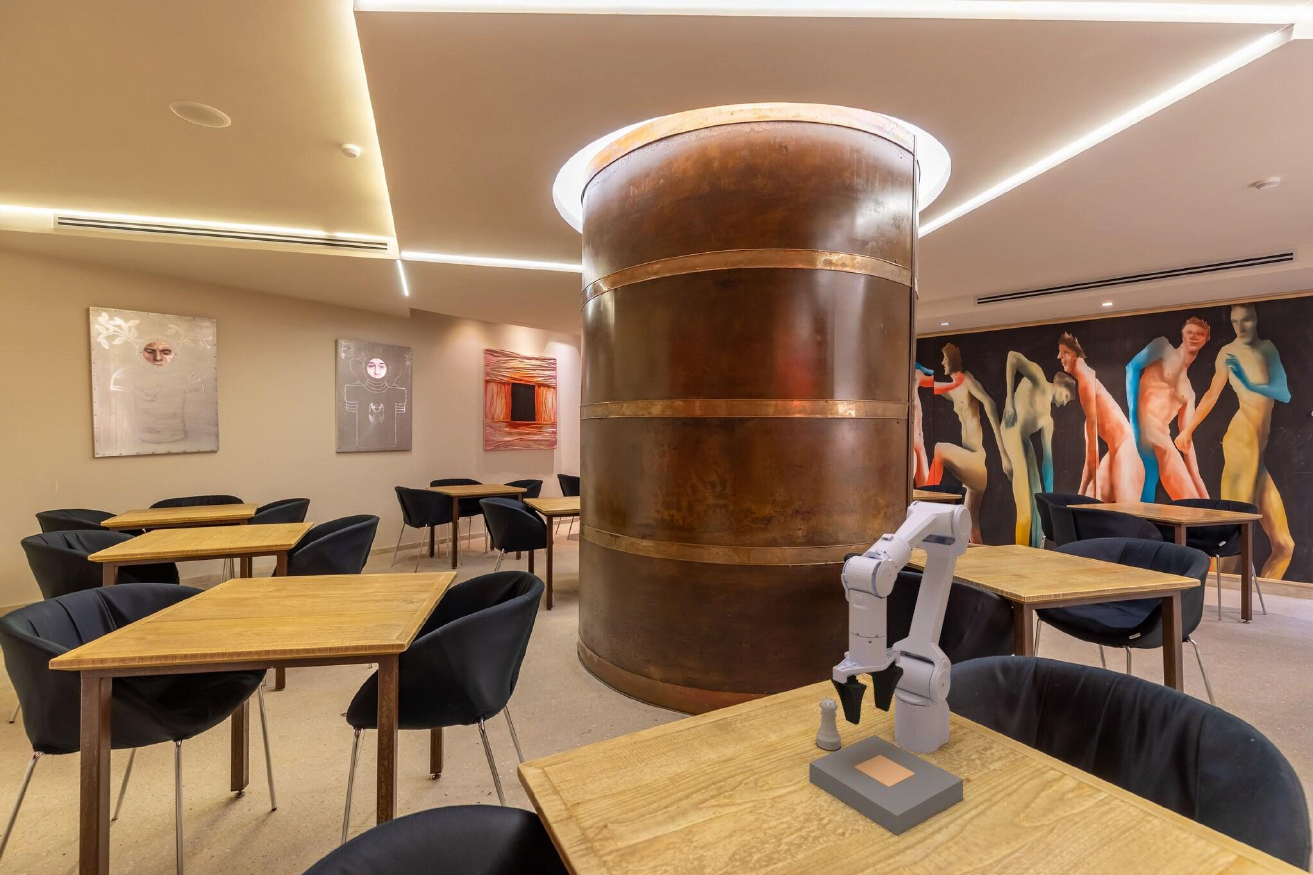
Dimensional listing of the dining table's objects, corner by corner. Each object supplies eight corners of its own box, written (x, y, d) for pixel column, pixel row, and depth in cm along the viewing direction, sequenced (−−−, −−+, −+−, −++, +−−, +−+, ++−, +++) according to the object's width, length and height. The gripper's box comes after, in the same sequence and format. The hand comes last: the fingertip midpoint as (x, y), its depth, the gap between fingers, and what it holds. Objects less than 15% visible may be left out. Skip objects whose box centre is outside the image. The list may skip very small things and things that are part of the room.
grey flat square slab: (874, 751, 106) (874, 734, 106) (963, 798, 93) (963, 778, 93) (809, 781, 97) (809, 761, 97) (896, 837, 84) (897, 815, 84)
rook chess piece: (842, 752, 106) (843, 707, 106) (816, 750, 107) (816, 704, 107) (839, 739, 110) (840, 695, 110) (814, 737, 111) (814, 693, 111)
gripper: (874, 617, 106) (874, 695, 106) (817, 633, 98) (817, 717, 98) (911, 628, 100) (911, 710, 100) (854, 646, 92) (854, 736, 92)
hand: (867, 715), depth 99 cm, fingers open, 7 cm apart
